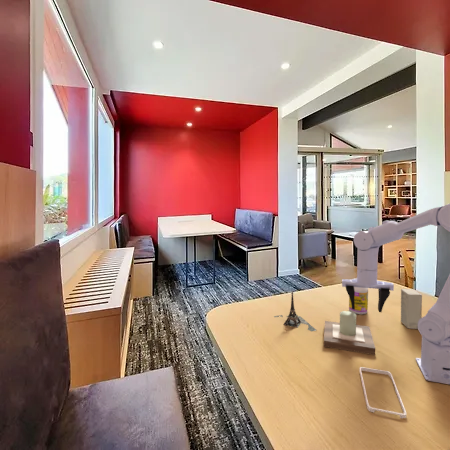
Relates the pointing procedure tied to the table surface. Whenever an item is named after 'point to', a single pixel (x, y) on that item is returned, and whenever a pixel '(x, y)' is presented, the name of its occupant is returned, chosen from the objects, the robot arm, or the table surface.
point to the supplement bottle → (360, 300)
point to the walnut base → (349, 339)
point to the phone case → (395, 390)
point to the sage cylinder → (348, 323)
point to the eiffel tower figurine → (295, 318)
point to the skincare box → (411, 308)
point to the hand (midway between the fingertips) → (366, 309)
